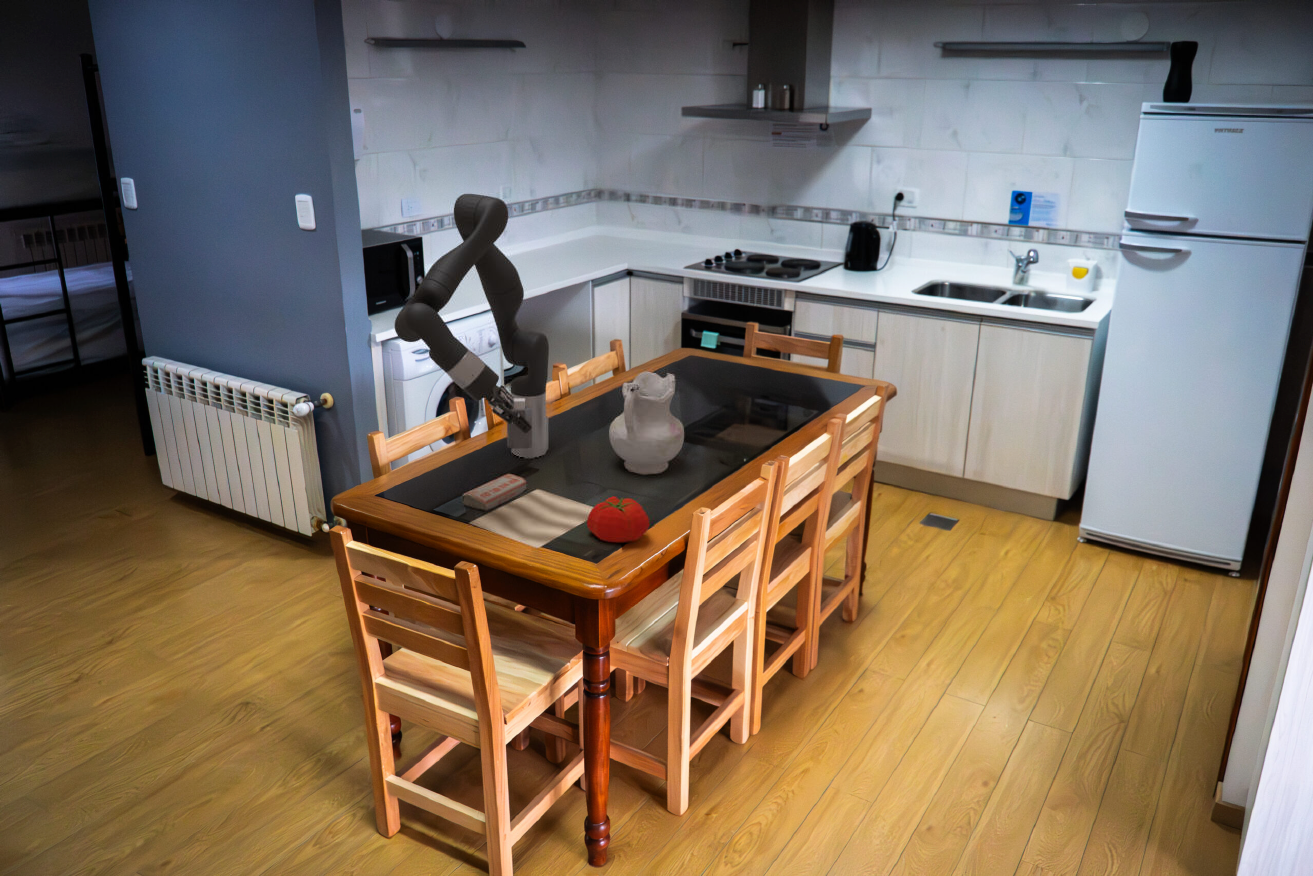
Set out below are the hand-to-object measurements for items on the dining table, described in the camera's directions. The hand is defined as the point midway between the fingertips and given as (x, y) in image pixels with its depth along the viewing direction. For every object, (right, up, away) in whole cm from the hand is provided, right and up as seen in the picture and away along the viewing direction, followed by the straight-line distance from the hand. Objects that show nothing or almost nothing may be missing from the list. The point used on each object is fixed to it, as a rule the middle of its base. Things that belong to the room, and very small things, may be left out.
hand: (528, 427), depth 225 cm
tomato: (+20, -25, -1) cm, 32 cm away
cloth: (+1, -22, +5) cm, 22 cm away
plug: (-2, -4, +1) cm, 5 cm away
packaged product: (-10, -18, +14) cm, 25 cm away
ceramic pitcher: (+25, -10, +38) cm, 47 cm away
